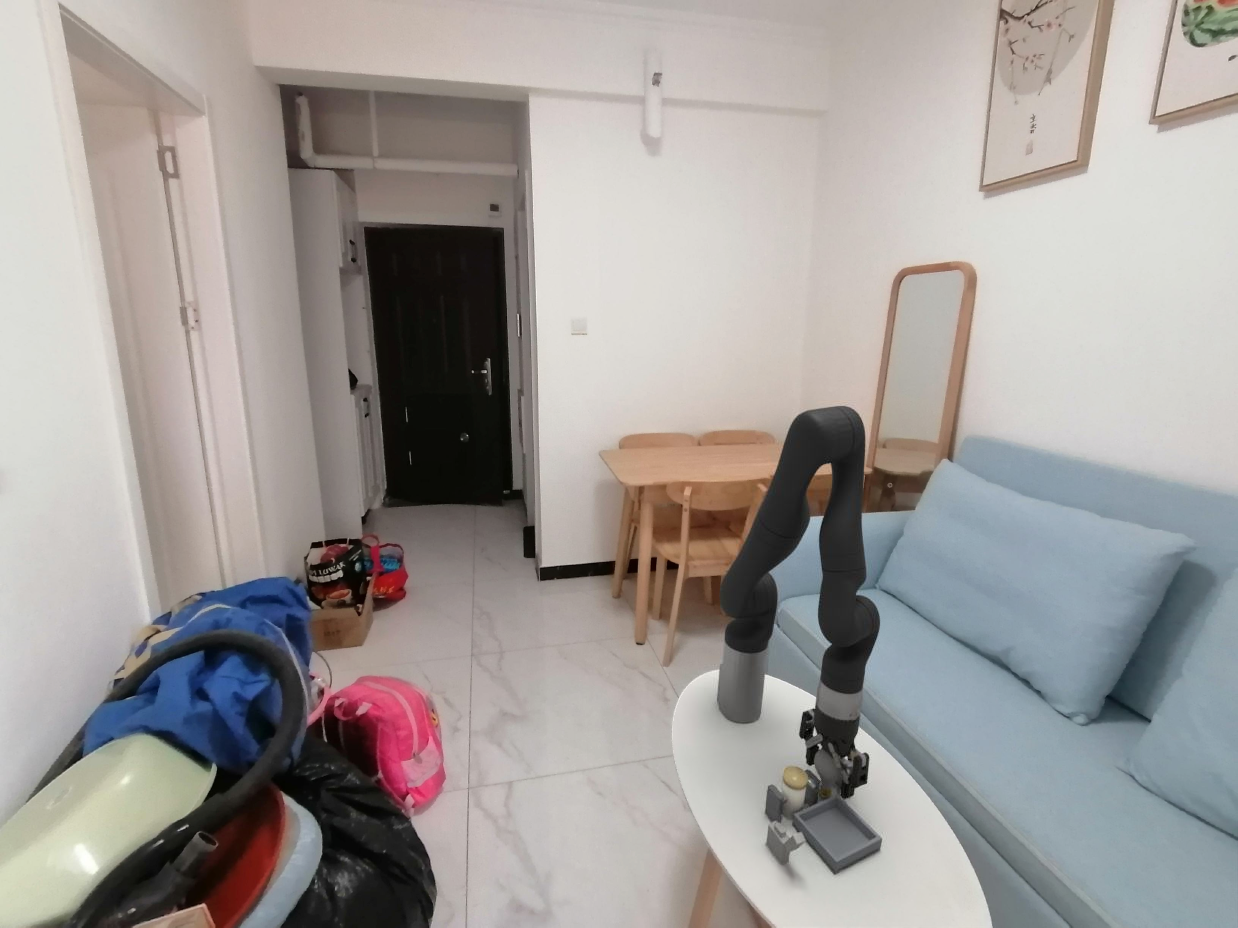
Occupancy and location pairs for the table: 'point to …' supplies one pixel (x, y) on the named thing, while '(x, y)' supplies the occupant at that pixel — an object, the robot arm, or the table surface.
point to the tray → (836, 833)
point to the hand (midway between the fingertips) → (828, 779)
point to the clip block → (777, 799)
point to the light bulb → (826, 771)
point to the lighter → (782, 841)
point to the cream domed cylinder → (793, 790)
